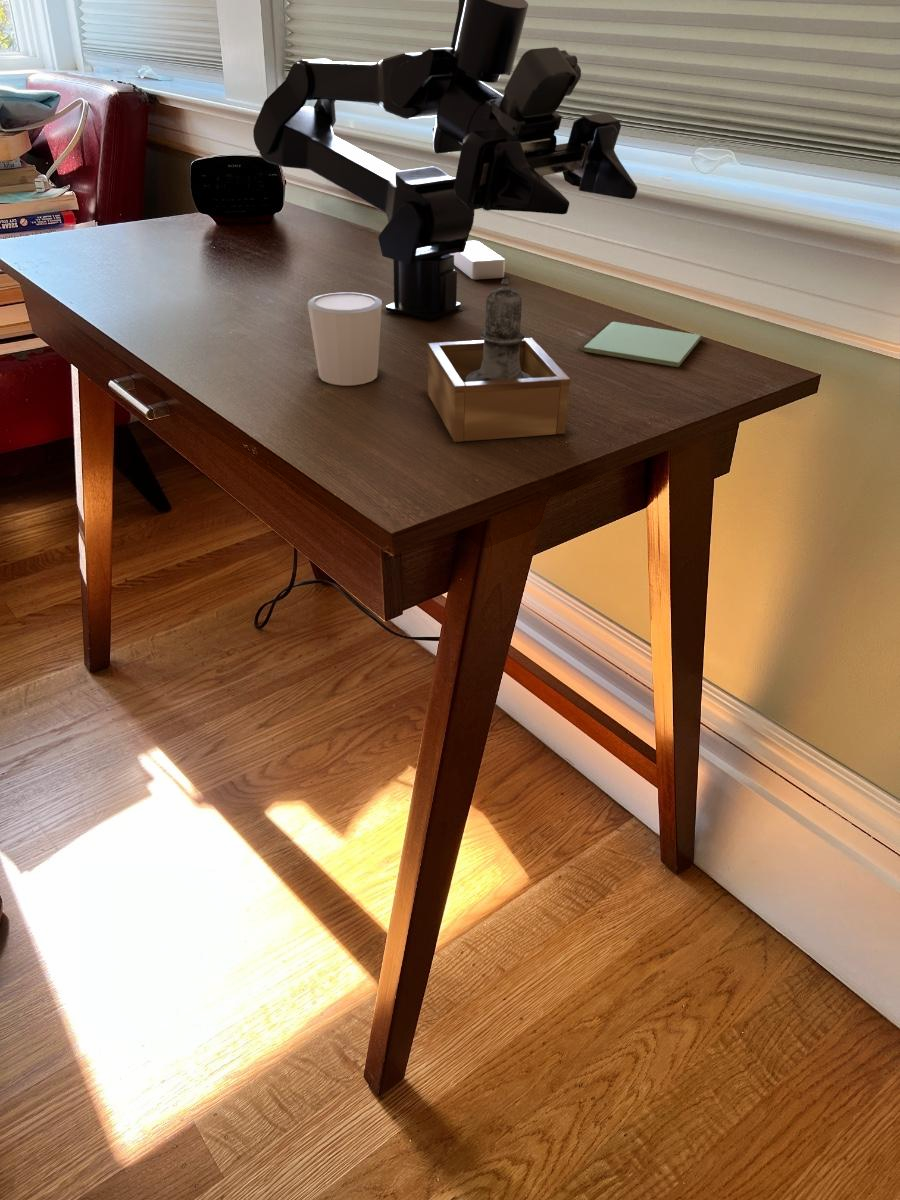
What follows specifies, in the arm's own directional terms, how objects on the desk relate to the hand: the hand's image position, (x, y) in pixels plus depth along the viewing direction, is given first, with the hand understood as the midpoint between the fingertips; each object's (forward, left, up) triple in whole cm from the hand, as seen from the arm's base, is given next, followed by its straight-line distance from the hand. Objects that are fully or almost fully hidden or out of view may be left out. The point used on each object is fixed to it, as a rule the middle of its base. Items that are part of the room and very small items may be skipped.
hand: (602, 201), depth 82 cm
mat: (+2, +10, -15) cm, 18 cm away
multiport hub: (-29, +27, -16) cm, 42 cm away
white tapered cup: (-18, -15, -16) cm, 28 cm away
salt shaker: (0, -17, -16) cm, 23 cm away
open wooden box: (-1, -16, -15) cm, 22 cm away
